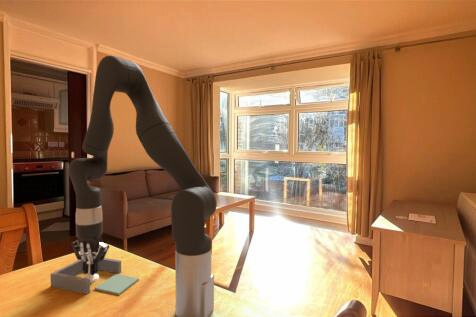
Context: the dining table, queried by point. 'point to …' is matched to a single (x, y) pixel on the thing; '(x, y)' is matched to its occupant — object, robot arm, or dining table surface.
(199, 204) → the robot arm
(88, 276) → the chess piece
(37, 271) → the dining table surface
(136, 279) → the mat
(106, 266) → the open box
